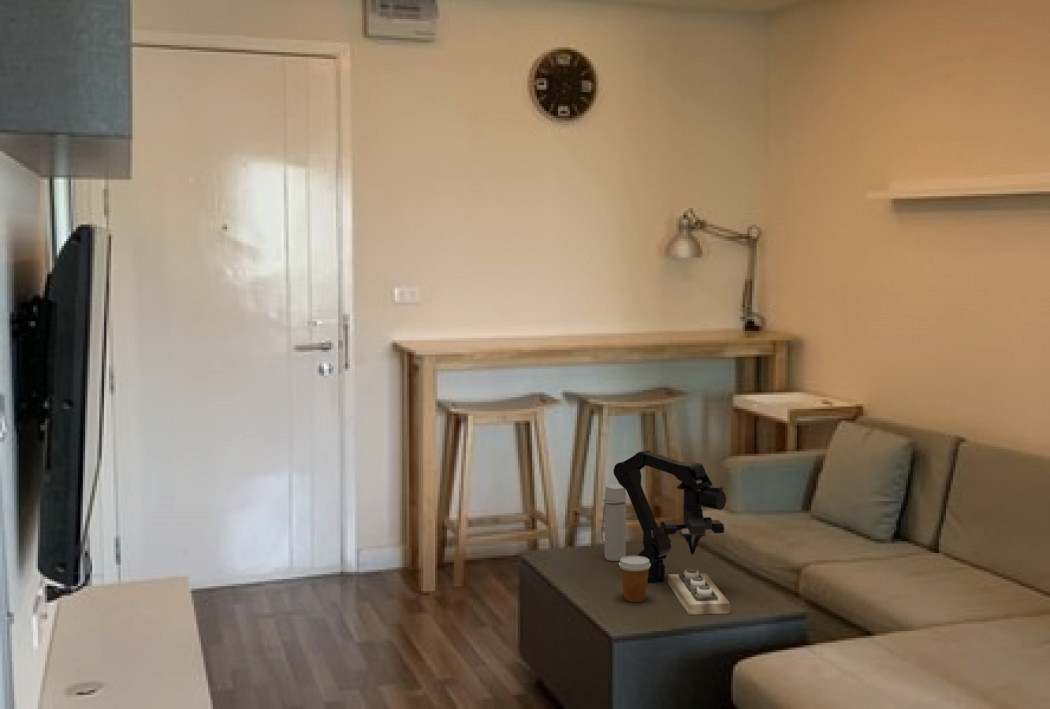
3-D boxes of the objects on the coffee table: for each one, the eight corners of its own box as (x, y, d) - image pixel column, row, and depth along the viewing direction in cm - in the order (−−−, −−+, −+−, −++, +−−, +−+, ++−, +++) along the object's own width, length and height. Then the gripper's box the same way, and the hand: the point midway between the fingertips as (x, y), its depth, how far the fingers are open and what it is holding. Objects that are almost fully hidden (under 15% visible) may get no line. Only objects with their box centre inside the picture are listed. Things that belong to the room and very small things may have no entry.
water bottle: (630, 558, 362) (631, 485, 359) (617, 563, 356) (618, 490, 353) (607, 553, 368) (608, 482, 365) (595, 558, 362) (595, 486, 359)
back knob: (686, 581, 327) (686, 572, 327) (682, 577, 331) (683, 568, 331) (700, 581, 327) (700, 572, 327) (696, 576, 332) (697, 568, 331)
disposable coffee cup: (629, 606, 315) (630, 566, 314) (612, 596, 323) (612, 557, 322) (656, 600, 319) (657, 561, 318) (639, 591, 328) (639, 553, 326)
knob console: (688, 614, 307) (688, 601, 307) (668, 583, 335) (668, 571, 335) (729, 613, 308) (729, 599, 308) (705, 582, 336) (706, 570, 336)
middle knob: (692, 590, 319) (692, 581, 319) (688, 585, 323) (689, 576, 323) (706, 589, 319) (706, 580, 319) (703, 585, 324) (703, 576, 323)
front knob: (698, 599, 311) (698, 589, 311) (695, 594, 315) (695, 584, 315) (713, 598, 311) (713, 589, 311) (709, 593, 316) (709, 584, 315)
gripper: (667, 511, 319) (667, 562, 320) (729, 510, 320) (728, 561, 322) (660, 502, 330) (659, 552, 331) (719, 501, 331) (719, 550, 333)
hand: (691, 554), depth 329 cm, fingers closed
